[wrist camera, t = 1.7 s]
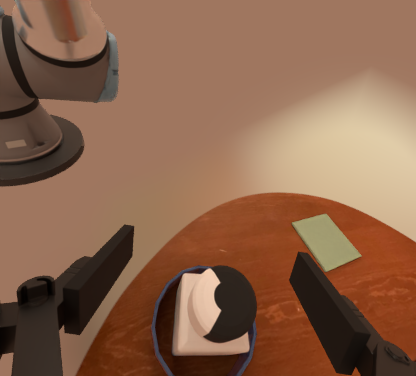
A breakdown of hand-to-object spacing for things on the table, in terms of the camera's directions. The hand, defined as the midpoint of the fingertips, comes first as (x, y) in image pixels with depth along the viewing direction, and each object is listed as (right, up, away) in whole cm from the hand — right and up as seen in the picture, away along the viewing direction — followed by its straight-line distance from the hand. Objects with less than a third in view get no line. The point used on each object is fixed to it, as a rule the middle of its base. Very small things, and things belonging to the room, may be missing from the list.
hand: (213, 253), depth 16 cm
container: (-1, -14, +13) cm, 19 cm away
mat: (+25, -6, +28) cm, 38 cm away
